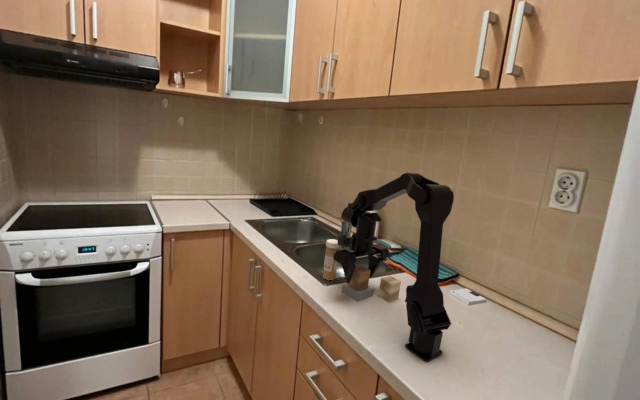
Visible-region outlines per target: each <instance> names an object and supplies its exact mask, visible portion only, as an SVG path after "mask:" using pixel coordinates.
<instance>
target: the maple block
mask: <svg viewBox="0 0 640 400" xmlns="http://www.w3.org/2000/svg"><path fill="white" fill-rule="evenodd" d="M401 283H402V281H401V280H399V279H397V278H396V277H394V276H392V275H388V276H384V277H380V282H379V288H378V289H379V290H378V296H379V297H380V298H382V299H383V300H384V301H386V302H387V303H390V302H394V301H396V300H399V297H400V291H401V290H400V289H401V285H402V284H401Z"/></svg>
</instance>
